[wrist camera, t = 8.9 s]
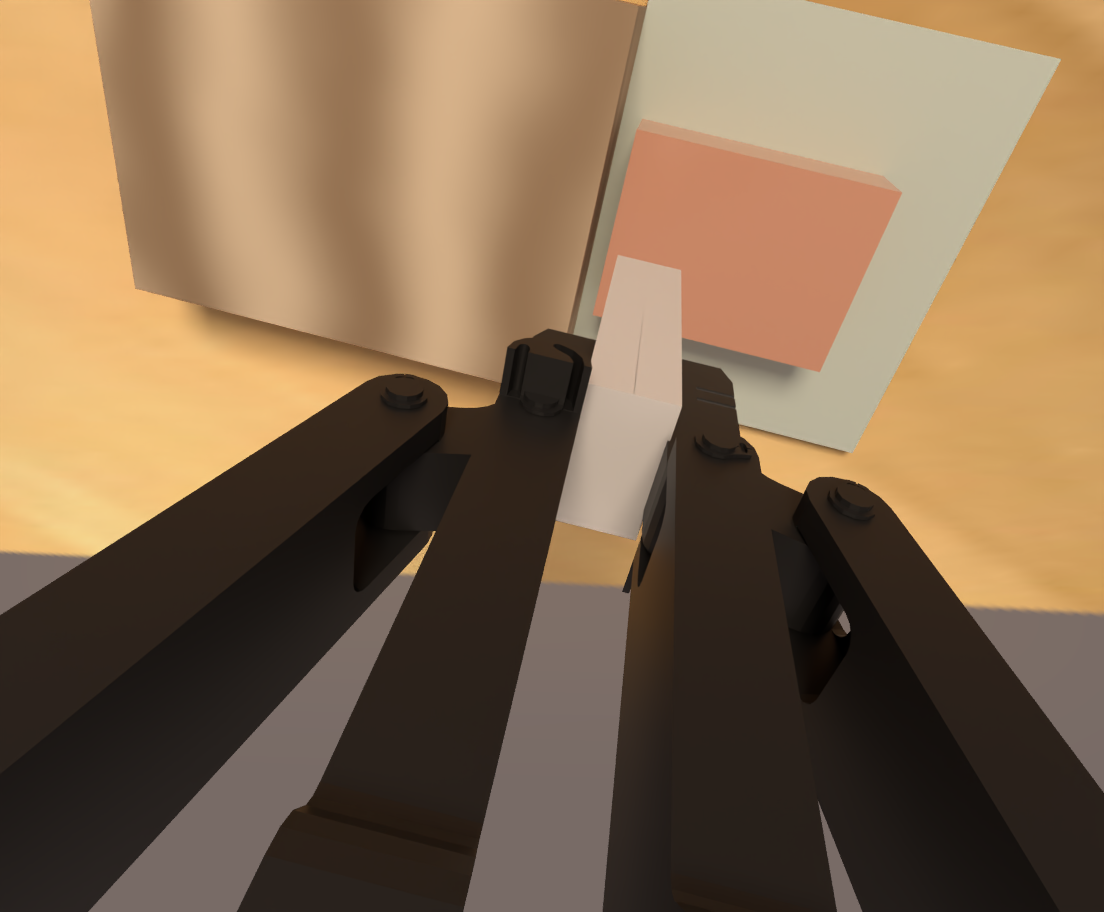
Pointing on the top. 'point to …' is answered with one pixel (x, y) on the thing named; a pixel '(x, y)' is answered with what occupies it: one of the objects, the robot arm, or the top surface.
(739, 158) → the tile
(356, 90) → the deck
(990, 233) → the top surface
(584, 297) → the mat
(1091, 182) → the top surface
